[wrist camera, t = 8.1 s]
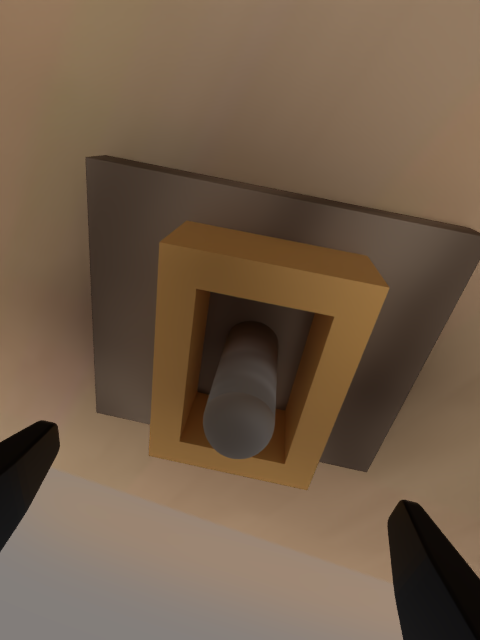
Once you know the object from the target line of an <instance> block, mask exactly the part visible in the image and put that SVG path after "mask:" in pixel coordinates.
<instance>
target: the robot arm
mask: <svg viewBox="0 0 480 640" xmlns="http://www.w3.org/2000/svg"><path fill="white" fill-rule="evenodd" d="M59 448H60V441H59V433H58V426H57V424H56V423H53V422H48V421H43V420H41V421H38V422H36V423H34V424H32V425H30V426H29V427H27V428H25V429H23V430H21V431H20V432H18V433H16V434H14V435H12V436H11V437H9V438H7V439H5V440H3V441H2V442H0V551H1V550H2V548H3V547H4V545H5V544H6V542H7V541H8V539H9V538H10V536H11V535H12V533H13V532H14V530H15V529H16V527H17V526H18V524H19V522H20V521H21V520H22V518H23V516H24V515H25V513H26V512H27V510H28V508H29V506H30V505H31V503H32V501H33V499H34V497H35V495H36V493H37V491H38V490H39V488H40V486H41V484H42V482H43V480H44V478H45V476H46V475H47V473H48V470H49V469H50V467H51V465H52V463H53V461H54V459H55V458H56V456H57V454H58V451H59ZM388 537H389V547H390V556H391V566H392V576H393V585H394V593H395V599H396V605H397V610H398V615H399V620H400V625H401V630H402V635H403V640H480V579H479V578H478V576H477V575H476V574H475V573H474V571H473V570H472V569H471V568H470V566H469V565H468V564H467V563H466V561H465V560H464V559H463V558H462V556H461V555H460V554H459V553H458V551H457V550H456V549H455V548H454V546H453V545H452V544H451V543H450V541H449V540H448V539H447V538H446V536H445V535H444V534H443V533H442V532H441V530H440V529H439V528H438V527H437V525H436V524H435V523H434V522H433V520H432V519H431V518H430V517H429V515H428V514H427V513H426V512H425V510H424V509H423V508H422V507H421V506H420V505H419V504H418V503H416V502H412V501H407V500H401V501H399V503H398V504H397V506H396V507H395V509H394V510H393V512H392V514H391V515H390V517H389V519H388Z"/></svg>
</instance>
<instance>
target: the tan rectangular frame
mask: <svg viewBox="0 0 480 640" xmlns="http://www.w3.org/2000/svg"><path fill="white" fill-rule="evenodd" d="M389 288H390V287H389V286H388V285H387V283H386V282H385V280H384V279H383V277H382V276H381V275H380V273H379V272H378V270H377V269H376V267H375V266H374V264H373V263H372V262H371V260H370V259H369V257H368V256H366V255H361V254H356V253H350V252H345V251H340V250H335V249H330V248H325V247H320V246H315V245H310V244H304V243H299V242H294V241H289V240H284V239H279V238H274V237H269V236H263V235H258V234H253V233H248V232H243V231H238V230H233V229H228V228H223V227H217V226H212V225H207V224H202V223H197V222H192V221H185V222H184V223H183V224H182V225H180V226H179V227H178V228H177V229H175V230H174V231H173V232H171V233H170V234H169V235H168V236H166V237H165V238H164V239H163V240H161V241H160V242H159V259H158V279H157V299H156V319H155V339H154V359H153V379H152V399H151V419H150V439H149V456H152V457H157V458H161V459H166V460H171V461H175V462H180V463H184V464H189V465H194V466H198V467H203V468H207V469H212V470H217V471H221V472H226V473H230V474H235V475H239V476H244V477H249V478H253V479H258V480H262V481H267V482H272V483H276V484H281V485H285V486H290V487H294V488H299V489H304V490H308V487H309V485H310V482H311V480H312V478H313V475H314V473H315V470H316V468H317V465H318V463H319V460H320V458H321V455H322V453H323V450H324V448H325V446H326V443H327V441H328V438H329V436H330V433H331V431H332V428H333V426H334V423H335V421H336V419H337V416H338V414H339V411H340V409H341V406H342V404H343V401H344V399H345V396H346V394H347V392H348V389H349V387H350V384H351V382H352V379H353V377H354V374H355V372H356V369H357V367H358V364H359V362H360V360H361V357H362V355H363V352H364V350H365V347H366V345H367V342H368V340H369V337H370V335H371V333H372V330H373V328H374V325H375V323H376V320H377V318H378V315H379V313H380V310H381V308H382V305H383V303H384V301H385V298H386V296H387V293H388V291H389ZM210 292H215V293H220V294H225V295H230V296H235V297H240V298H245V299H250V300H255V301H259V302H264V303H269V304H274V305H279V306H284V307H289V308H294V309H299V310H304V311H309V312H314V313H315V314H314V317H313V321H312V324H311V327H310V330H309V334H308V337H307V340H306V344H305V347H304V350H303V354H302V357H301V360H300V363H299V367H298V370H297V373H296V377H295V380H294V383H293V386H292V390H291V393H290V396H289V400H288V403H287V406H286V409H285V410H280V409H275V427H274V432H273V435H272V438H271V440H270V441H269V443H268V444H267V446H266V447H265V448H264V449H263V450H262V451H261V452H259V453H258V454H256V455H254V456H252V457H250V458H246V459H232V458H228V457H225V456H223V455H221V454H220V453H218V452H217V451H216V450H215V449H214V448H213V447H212V446H211V445H210V443H209V442H208V440H207V438H206V436H205V433H204V428H203V415H204V411H205V407H206V404H207V401H208V397H209V394H204V393H199V392H197V390H198V382H199V374H200V367H201V359H202V352H203V344H204V337H205V329H206V322H207V314H208V307H209V299H210Z"/></svg>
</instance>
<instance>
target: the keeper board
mask: <svg viewBox="0 0 480 640" xmlns="http://www.w3.org/2000/svg"><path fill="white" fill-rule="evenodd" d="M86 180H87V203H88V226H89V249H90V273H91V296H92V319H93V342H94V365H95V389H96V412H97V413H101V414H105V415H110V416H114V417H119V418H123V419H128V420H132V421H137V422H141V423H146V424H150V419H151V399H152V379H153V359H154V339H155V319H156V299H157V279H158V259H159V242H160V241H161V240H163V239H164V238H165V237H166V236H168V235H169V234H170V233H171V232H173V231H174V230H175V229H177V228H178V227H179V226H180V225H182V224H183V223H184V222H185V221H192V222H197V223H202V224H207V225H212V226H217V227H223V228H228V229H233V230H238V231H243V232H248V233H253V234H258V235H263V236H269V237H274V238H279V239H284V240H289V241H294V242H299V243H304V244H310V245H315V246H320V247H325V248H330V249H335V250H340V251H345V252H350V253H356V254H361V255H366V256H368V257H369V259H370V260H371V262H372V263H373V264H374V266H375V267H376V269H377V270H378V272H379V273H380V275H381V276H382V277H383V279H384V280H385V282H386V283H387V285H388V286H389V287H390V288H389V291H388V293H387V296H386V298H385V301H384V303H383V305H382V308H381V310H380V313H379V315H378V318H377V320H376V323H375V325H374V328H373V330H372V333H371V335H370V337H369V340H368V342H367V345H366V347H365V350H364V352H363V355H362V357H361V360H360V362H359V364H358V367H357V369H356V372H355V374H354V377H353V379H352V382H351V384H350V387H349V389H348V392H347V394H346V396H345V399H344V401H343V404H342V406H341V409H340V411H339V414H338V416H337V419H336V421H335V423H334V426H333V428H332V431H331V433H330V436H329V438H328V441H327V443H326V446H325V448H324V450H323V453H322V455H321V458H320V460H319V462H322V463H327V464H331V465H336V466H340V467H345V468H350V469H354V470H359V471H363V472H367V471H368V469H369V467H370V465H371V463H372V461H373V460H374V458H375V456H376V454H377V452H378V450H379V448H380V446H381V445H382V443H383V441H384V439H385V437H386V435H387V433H388V431H389V429H390V428H391V426H392V424H393V422H394V420H395V418H396V416H397V414H398V413H399V411H400V409H401V407H402V405H403V403H404V401H405V399H406V398H407V396H408V394H409V392H410V390H411V388H412V386H413V384H414V382H415V381H416V379H417V377H418V375H419V373H420V371H421V369H422V367H423V366H424V364H425V362H426V360H427V358H428V356H429V354H430V352H431V351H432V349H433V347H434V345H435V343H436V341H437V339H438V337H439V335H440V334H441V332H442V330H443V328H444V326H445V324H446V322H447V320H448V319H449V317H450V315H451V313H452V311H453V309H454V307H455V305H456V304H457V302H458V300H459V298H460V296H461V294H462V292H463V290H464V288H465V287H466V285H467V283H468V281H469V279H470V277H471V275H472V273H473V272H474V270H475V268H476V266H477V264H478V262H479V260H480V233H479V232H477V231H475V230H473V229H471V228H467V227H462V226H457V225H452V224H447V223H442V222H437V221H432V220H427V219H422V218H417V217H412V216H407V215H402V214H397V213H392V212H387V211H382V210H377V209H372V208H367V207H362V206H357V205H352V204H347V203H342V202H337V201H332V200H327V199H322V198H317V197H312V196H307V195H302V194H297V193H292V192H287V191H282V190H277V189H272V188H267V187H262V186H256V185H251V184H246V183H241V182H236V181H231V180H226V179H221V178H216V177H211V176H206V175H201V174H196V173H191V172H186V171H181V170H176V169H171V168H166V167H161V166H156V165H151V164H146V163H141V162H136V161H131V160H126V159H121V158H116V157H111V156H106V155H105V156H93V157H86ZM314 314H315V313H314V312H309V311H304V310H299V309H294V308H289V307H284V306H279V305H274V304H269V303H264V302H259V301H255V300H250V299H245V298H240V297H235V296H230V295H225V294H220V293H215V292H210V299H209V307H208V314H207V322H206V329H205V337H204V344H203V352H202V359H201V367H200V374H199V382H198V390H197V392H199V393H204V394H209V397H208V401H207V404H206V407H205V411H204V415H203V428H204V433H205V436H206V438H207V440H208V442H209V443H210V445H211V446H212V447H213V448H214V449H215V450H216V451H217V452H218V453H220V454H221V455H223V456H225V457H228V458H232V459H246V458H250V457H252V456H254V455H256V454H258V453H259V452H261V451H262V450H263V449H264V448H265V447H266V446H267V444H268V443H269V441H270V440H271V438H272V435H273V432H274V427H275V409H280V410H285V409H286V406H287V403H288V400H289V396H290V393H291V390H292V386H293V383H294V380H295V377H296V373H297V370H298V367H299V363H300V360H301V357H302V354H303V350H304V347H305V344H306V340H307V337H308V334H309V330H310V327H311V324H312V321H313V317H314Z"/></svg>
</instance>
